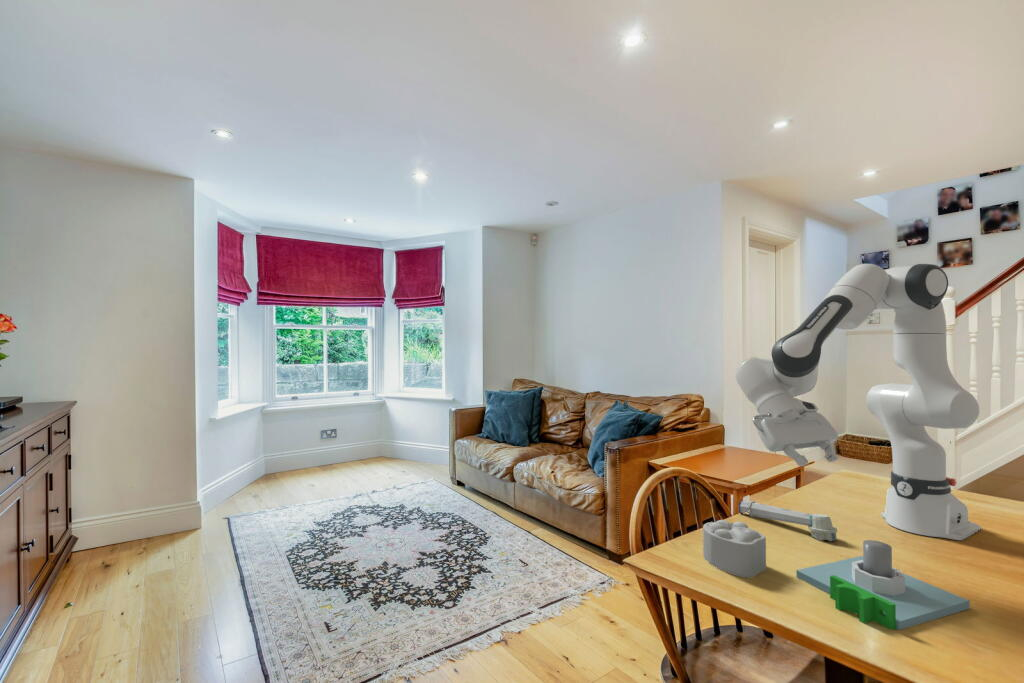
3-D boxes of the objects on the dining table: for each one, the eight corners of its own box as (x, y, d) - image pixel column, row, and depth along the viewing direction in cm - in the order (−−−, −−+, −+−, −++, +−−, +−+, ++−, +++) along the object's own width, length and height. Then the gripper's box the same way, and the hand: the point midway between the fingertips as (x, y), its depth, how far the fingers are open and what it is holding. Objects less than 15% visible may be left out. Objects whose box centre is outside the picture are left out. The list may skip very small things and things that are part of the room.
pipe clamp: (820, 601, 92) (820, 577, 92) (834, 598, 94) (833, 574, 94) (881, 634, 82) (881, 607, 82) (896, 629, 83) (895, 603, 83)
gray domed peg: (873, 577, 98) (873, 538, 98) (897, 587, 94) (897, 547, 94) (858, 580, 97) (857, 542, 97) (882, 592, 92) (881, 551, 92)
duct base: (861, 562, 108) (860, 542, 108) (969, 608, 89) (969, 584, 89) (796, 577, 101) (796, 556, 101) (899, 630, 83) (898, 604, 83)
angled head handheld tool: (746, 498, 142) (838, 511, 121) (749, 521, 141) (842, 538, 120) (735, 501, 139) (828, 515, 118) (739, 524, 138) (832, 543, 117)
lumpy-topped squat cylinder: (747, 580, 100) (746, 540, 100) (692, 558, 111) (692, 521, 111) (771, 567, 106) (771, 529, 106) (717, 547, 117) (717, 512, 117)
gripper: (756, 408, 111) (794, 459, 102) (819, 403, 118) (860, 451, 109) (742, 423, 115) (776, 474, 106) (803, 418, 122) (840, 465, 113)
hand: (819, 462), depth 107 cm, fingers open, 8 cm apart
